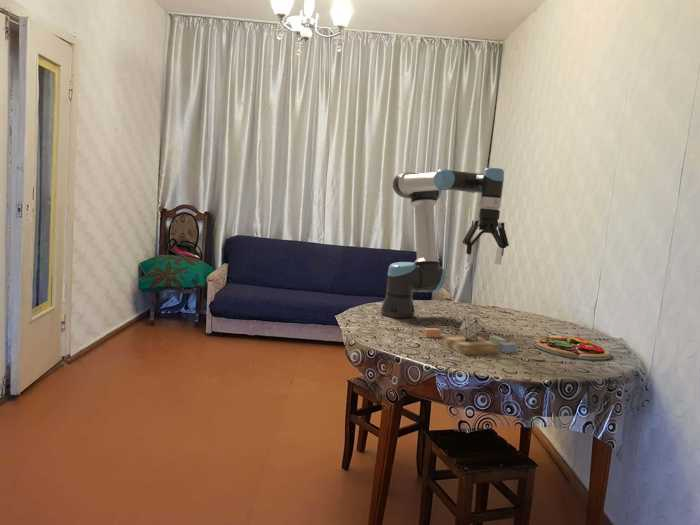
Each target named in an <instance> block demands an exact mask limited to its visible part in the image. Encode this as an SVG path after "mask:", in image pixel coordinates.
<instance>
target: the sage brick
mask: <svg viewBox="0 0 700 525" xmlns="http://www.w3.org/2000/svg"><path fill="white" fill-rule="evenodd" d="M488 341H490V342H492V343H495V344H497V345H499V343H505V342H507V339H505V338H502V337H500V336H497V335H489V337H488Z"/></svg>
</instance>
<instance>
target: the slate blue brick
mask: <svg viewBox="0 0 700 525" xmlns="http://www.w3.org/2000/svg"><path fill="white" fill-rule="evenodd" d="M517 346H518V344H517V343H515V342H511V341H506V342H505V343H499V345H498V350H497V352H500V353H503V354H508V353H509V354H510V353H516V352H517Z"/></svg>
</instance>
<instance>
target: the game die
mask: <svg viewBox="0 0 700 525" xmlns="http://www.w3.org/2000/svg"><path fill="white" fill-rule="evenodd" d="M476 318H477V317H476V316H475V317H473V318H471V319H470V318H465V317H462V319H463V321H462V323H461V325H460V327H459V329H456V331H459V332H460V334H461V335H463V336H464V338H466V341H467V339H477V338H478V337H480V334H481V332H482V331H483V330H485V329H486V328H485V327H482V325H481V324H480V323H479V322H478V320H477V319H476ZM477 341H478V339H477Z"/></svg>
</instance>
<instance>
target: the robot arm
mask: <svg viewBox="0 0 700 525" xmlns="http://www.w3.org/2000/svg"><path fill="white" fill-rule="evenodd" d="M504 178H505V171H504V169H503V168H499V167H485V168H484V170H483V173H479V172H478V173H476V172H468V171H460V170H459V171H458V170H452V169H449V168H448V169H447V168H446V169H445V168H444V169H442V168H441V169H438V170H437V171H430V172H420V173H418V172H410V171H405V172H403V171H402V172H400V173H398V174H397V175H395V176H394V178H393V180H392V188H393V191H394V193H396V195H398V196H399V197H400V198H404V199H411V201H410V203H411V205H412V206H413V207H414V216H415V217H414V220H415V224H414V225H415V241H416V243H415V244H416V245H415V246H416V260H414V262H412V261H398V262H393V263H390V265H389V266H388V270H387V282H386V294H385V298H384V300H383V302H382V305H381V307H380V313H379V314H380V315H381V316H386V317H389V318H394V319H395V318H396V319H413V318H415V314H416V311H415V305H414V301H413V295H414V293H423V292H424V293H435V292H440V291H441V290H442V288H443V287H444V285H445V283H446V278H447V275H446V270H445V268H444V267H442V266H441V264H440V261H439V260H438V259H437V253H436V252H437V250H436V249H437V248H436V232H435V231H436V230H435V208H434V207H435V205H436V204H438V200H439V199H440V197H441V194H442V191H457V192H466V193H472V194H475V193H476V194H477V193H480V194H481V197H480V204H479V207H480V208H479V212H478V216H479V217H478V218H479V220H477V219H472V221H471V226H470V227H469V229H468V231H467V233H466V234H465V236H464V239H463V241H462V243H463V244H464V245H465V246H466V249H465V250H466V251H465V253H466V255H467V256H466V263H467V264H473V261H474V253H475V246H474V244H476V242H477V241H478V239H479V238H480V237H481V236H482V235H483V234H491V235H492V236H493V238H494V240H495V242H496V245H497V247H496V250H495V251H496V252H495V260H494V264H496V265H502V257H504V250H505V249H506V248H507V247H509V246H510V245H509V244H510V243H509V240H508V236H507V233H506V228H505V222H502V221H499V219H500V213H501V212H500V209H501V204H502V195H503V188H504V181H505V180H504ZM478 226H479V227H478Z"/></svg>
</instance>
